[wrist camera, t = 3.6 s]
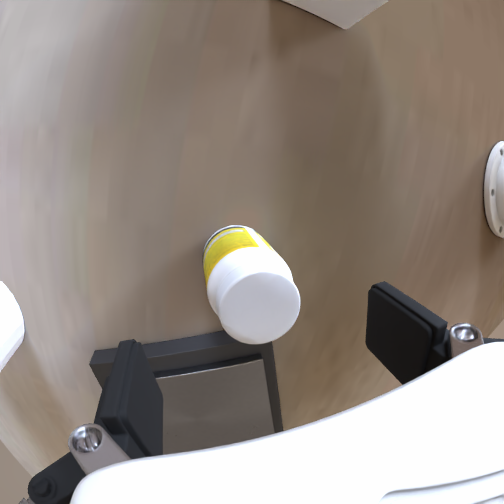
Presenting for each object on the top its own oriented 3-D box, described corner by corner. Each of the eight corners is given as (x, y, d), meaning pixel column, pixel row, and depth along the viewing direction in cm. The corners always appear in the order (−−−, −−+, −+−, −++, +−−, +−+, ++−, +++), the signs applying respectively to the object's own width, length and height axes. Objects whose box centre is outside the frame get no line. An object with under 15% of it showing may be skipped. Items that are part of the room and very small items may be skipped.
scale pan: (260, 352, 22) (263, 358, 21) (273, 432, 25) (275, 438, 24) (105, 377, 20) (104, 383, 19) (150, 451, 23) (150, 457, 23)
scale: (265, 321, 23) (274, 341, 21) (280, 433, 28) (287, 452, 26) (94, 350, 21) (85, 371, 18) (154, 454, 26) (154, 473, 23)
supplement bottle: (193, 274, 21) (195, 337, 13) (216, 214, 20) (231, 246, 12) (252, 293, 22) (283, 359, 15) (277, 238, 22) (324, 280, 14)
